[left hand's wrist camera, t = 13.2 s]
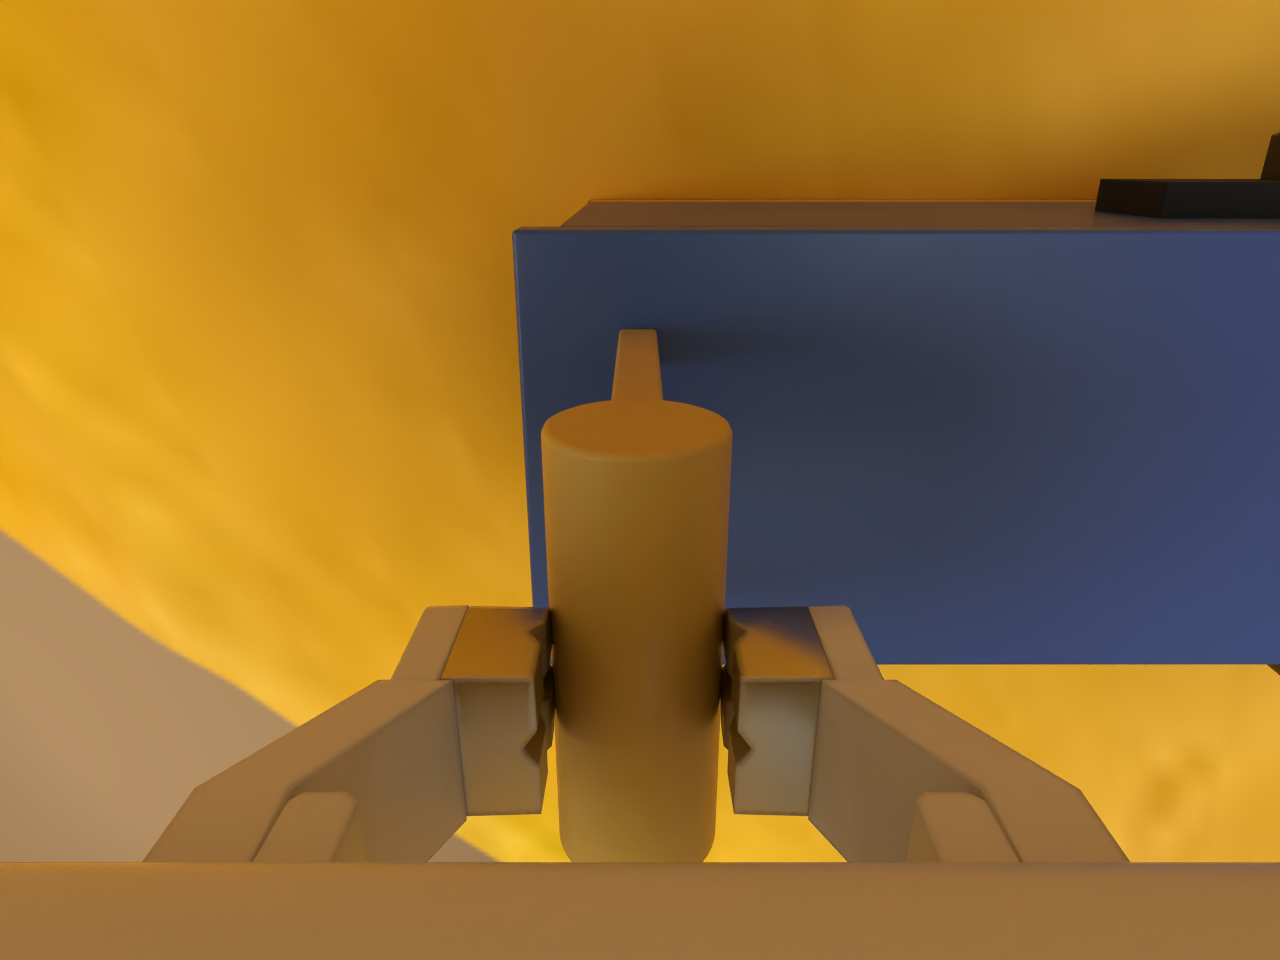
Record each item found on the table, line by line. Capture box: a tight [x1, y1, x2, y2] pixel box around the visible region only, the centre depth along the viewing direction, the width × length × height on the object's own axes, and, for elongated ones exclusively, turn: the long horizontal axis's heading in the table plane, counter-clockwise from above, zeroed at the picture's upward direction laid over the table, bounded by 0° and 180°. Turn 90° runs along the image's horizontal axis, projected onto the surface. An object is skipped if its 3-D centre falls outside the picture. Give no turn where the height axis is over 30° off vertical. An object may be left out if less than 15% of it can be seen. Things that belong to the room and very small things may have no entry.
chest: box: [560, 200, 1280, 227], centre depth 22 cm, size 16×9×10 cm, turn 90°
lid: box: [512, 227, 1280, 862], centre depth 13 cm, size 17×9×8 cm, turn 90°
